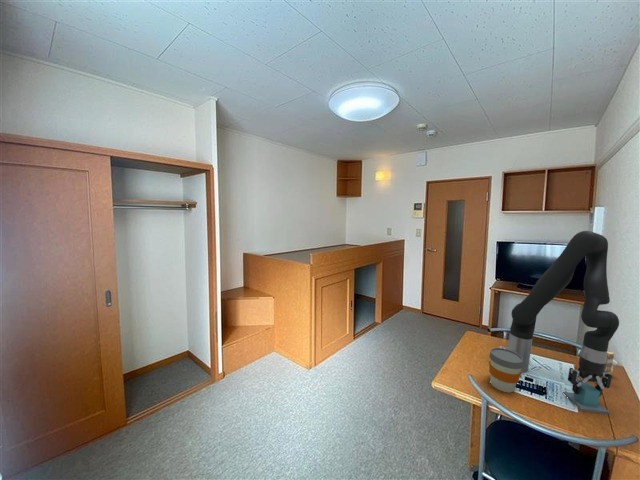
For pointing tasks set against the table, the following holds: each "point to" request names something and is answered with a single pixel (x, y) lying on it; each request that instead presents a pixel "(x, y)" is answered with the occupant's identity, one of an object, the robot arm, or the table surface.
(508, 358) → the reusable coffee cup
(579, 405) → the gray base with block
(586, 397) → the teal block
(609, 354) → the candy box
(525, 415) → the table surface
